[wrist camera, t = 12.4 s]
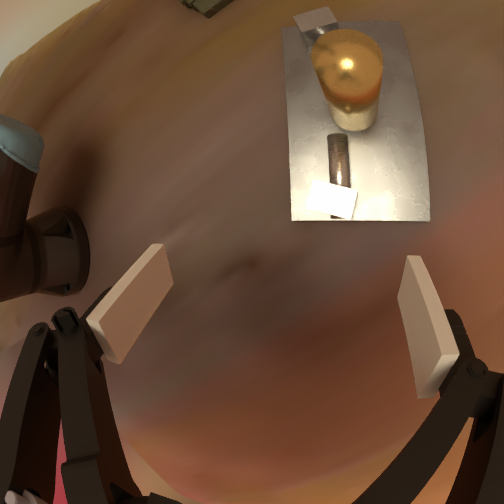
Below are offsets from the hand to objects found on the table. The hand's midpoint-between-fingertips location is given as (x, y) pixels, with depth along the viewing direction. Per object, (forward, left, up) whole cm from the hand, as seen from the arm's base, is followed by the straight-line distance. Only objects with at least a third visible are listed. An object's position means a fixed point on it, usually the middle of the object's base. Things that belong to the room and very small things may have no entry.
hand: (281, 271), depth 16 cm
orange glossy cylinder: (+2, +14, -15) cm, 21 cm away
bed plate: (+2, +15, -16) cm, 22 cm away
